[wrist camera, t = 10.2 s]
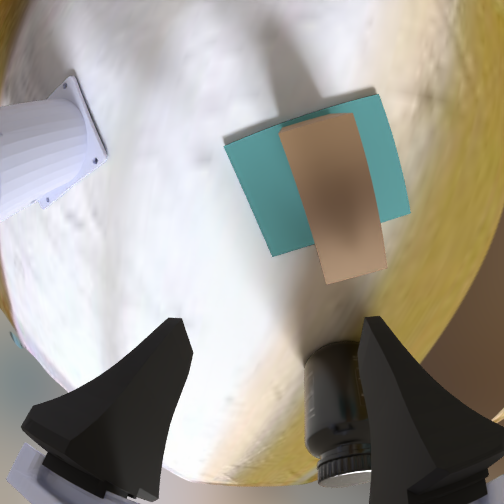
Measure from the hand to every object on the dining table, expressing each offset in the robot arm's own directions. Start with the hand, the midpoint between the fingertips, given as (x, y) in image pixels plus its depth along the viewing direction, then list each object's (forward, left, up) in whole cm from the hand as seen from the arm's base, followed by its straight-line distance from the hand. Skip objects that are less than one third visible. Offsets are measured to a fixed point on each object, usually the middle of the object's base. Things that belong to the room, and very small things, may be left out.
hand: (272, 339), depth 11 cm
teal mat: (+4, +3, -9) cm, 11 cm away
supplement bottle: (+1, -14, -10) cm, 17 cm away
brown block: (+4, +3, -9) cm, 10 cm away
